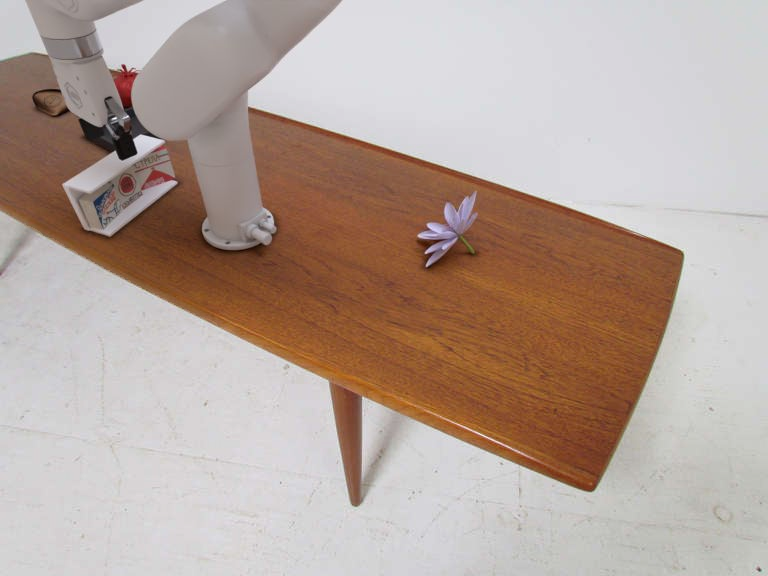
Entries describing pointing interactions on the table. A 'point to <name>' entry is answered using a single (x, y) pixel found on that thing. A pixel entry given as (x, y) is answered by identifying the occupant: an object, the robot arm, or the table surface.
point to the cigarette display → (121, 186)
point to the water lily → (450, 228)
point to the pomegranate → (125, 85)
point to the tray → (107, 138)
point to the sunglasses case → (50, 101)
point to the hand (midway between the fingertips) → (112, 147)
